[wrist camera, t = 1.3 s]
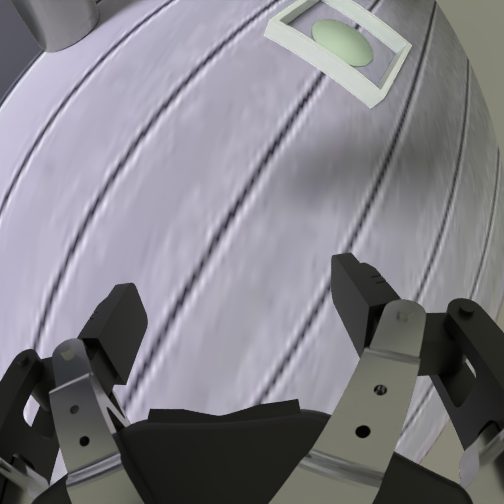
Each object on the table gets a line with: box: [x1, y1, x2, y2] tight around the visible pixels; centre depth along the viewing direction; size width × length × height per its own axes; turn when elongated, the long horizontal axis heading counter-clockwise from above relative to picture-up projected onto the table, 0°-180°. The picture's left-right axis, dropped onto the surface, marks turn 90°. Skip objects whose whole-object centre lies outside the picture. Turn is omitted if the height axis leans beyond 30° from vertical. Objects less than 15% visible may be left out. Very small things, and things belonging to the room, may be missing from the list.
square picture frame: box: [264, 0, 412, 109], centre depth 26 cm, size 16×16×3 cm
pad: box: [311, 19, 373, 67], centre depth 27 cm, size 9×9×1 cm
